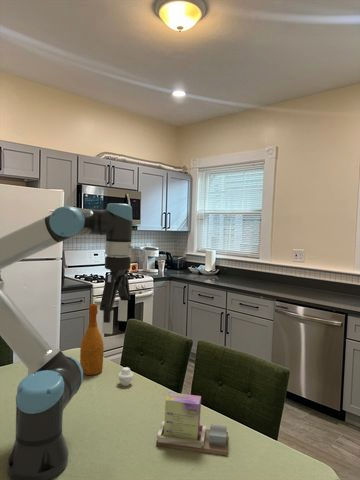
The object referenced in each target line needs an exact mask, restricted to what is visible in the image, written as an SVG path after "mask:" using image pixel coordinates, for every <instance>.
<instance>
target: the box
mask: <svg viewBox="0 0 360 480" xmlns="http://www.w3.org/2000/svg"><path fill="white" fill-rule="evenodd" d="M164 406H165V407H164V420H165V423H164V436H168V437H175V438H183V439H190V440H198V436H199V427H200V424H201V409H202V408H201V407H202V396H201V395H195V394H194V395H193V394H188V393H181V392H180V393H178V392H173V391H172V392H171V391H169V392H168V394H167V397H166V399H165V405H164Z"/></svg>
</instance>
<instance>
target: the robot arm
mask: <svg viewBox="0 0 360 480" xmlns="http://www.w3.org/2000/svg"><path fill="white" fill-rule="evenodd" d="M133 222H134V221H133V207H132V206H131V204H127V203H107V206H106V208H105V209H93V208H91V209H89V208H84V207H83V208H81V207H74V206H71V205H68V206H67V205H65V206H59V207H57V208H56V209H54V210H53V211H52V213H51V214H49V215H48V216H45V217H43V218H41V219H38V220H36V221H33V222H32V223H30V224H28V225H25V226H23V227H21V228H19V229H16V230H14V231H12V232H10V233H8V234H6V235H4V236H1V237H0V273H1V272H2V271H1V270H3V269H5V268H6V267H7V268H8V267H9V266H12V265H13V264H15V263H18V262H20V261H21V260H24V259H26V258H28V257H31V256H33V255H35V254H37V253H39V252H41V251H44V250H46V249H48V248H50V247H53V246H55V245H57V244H59V243H62V242H64V241H67V240H68V239H70V238H72V237H75V236H81V235H82V236H83V235H85V236H86V235H90V236H91V235H95V236H96V235H97V236H105V247H104V249H105V251H104V254H105V255H106V256H105V258H104V269H106V270H109V274H105V279H104V285H103V292H102V295H101V301H100V306H99V311H102V331H101V332H102V334H107V335H112V334H113V332H114V331H113V330H114V327H113V326H114V325H113V324H114V310H113V308H114V303H115V300H116V297H117V293H118V297H119V299H118V308H117V311H118V312H117V321H118V322H127V320H128V303H129V301H130V300H131V299H132V298H131V292H130V291H131V290H130V283H129V270H130V269H131V261H132V258H131V257H130V256H131V254H132V249H133V247H134V246H133V245H132V233H133ZM1 276H2V275H1V274H0V337H1V338H2V339H3V341H4V342H5V343H6V344H7V346H8V347H10V348H9V349H11V350H12V352H14V354H15V355H16V356H17V358H18V359H19V360H20V361H21V362H22V364H23V365H24V366H25V368H27V375H26V376H25V377H24V378H23V379H22V380H21V381H20V382H19V383H18V385H17V389H16V395H15V403H16V404H15V405H16V406H15V440H14V443H13V447H12V448H11V451H10V454H9V457H8V460H7V464H6V465H7V466H6V467H7V468H6V469H7V470H6V472H7V475H8V477H9V479H10V480H52V479H54V478H56V477H57V476H58V475H60V474H61V473H62V472H63V471H64V470H66V467H67V466H68V462H69V450H68V447H67V444H66V440H65V437H64V434H63V420H64V419H63V416H64V415H63V414H64V410H65V409H66V408H67V406H68V405H69V403H70V401H71V400H72V399H73V397H74V396H75V395H76V394H77V393H78V391H79V389H80V388H81V385H82V383H83V380H84V374H83V370H82V367H81V365H80V361H79V360H77V358H74V357H73V356H68V355H65V354H64V353H63V351H62V350H61V349H59V348H58V349H56V348H53V347H51V345H50V344H49V343H48V341H46V339H45V338H44V337H43V335H41V333H40V332H39V331H38V330H37V328H36V326H34V325H33V323H31V321H30V320H29V319H28V318H27V316H26V315H25V314H24V312H22V310H21V309H20V308H19V307H18V305H16V303H15V301H14V300H13V299H12V298H11V296H10V295H9V294H8V293H7V292H6V291H5V289H4V287H5V281H4V280H3V279H2V277H1Z"/></svg>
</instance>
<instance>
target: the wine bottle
mask: <svg viewBox="0 0 360 480" xmlns="http://www.w3.org/2000/svg"><path fill="white" fill-rule="evenodd" d="M88 314H89V322H88V323H89V324H88V326H87V328H86V331H85V333H84V335H83V337H82V340H81V343H80V351H79V353H80V356H79V357H80V358H79V359H80V360H79V363H80V365H81V367H82V370H83V375H86V376H94V375H98V374H100V373H101V372H102V371H103V365H104V352H105V351H104V341H103V337H102V334H101V333H100V330H99V327H98V322H97V321H98V320H97V314H98V304H97V303H90V304H89V312H88Z"/></svg>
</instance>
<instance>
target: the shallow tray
mask: <svg viewBox="0 0 360 480" xmlns="http://www.w3.org/2000/svg"><path fill="white" fill-rule="evenodd" d="M164 423H165V419H164V420H162V422H161V423H160V426H159V429H158V432H157V435H156V437H157V438H156V443H155V447H163V448H169V449H177V450H184V451H191V452H199V453H205V454H212V455H220V456H228V446H229V444H228V443H229V440H228V439H229V433H228V431H227V429H228V428H227V427H228V426H227V425H221V424H214V423H213V424H212V423H211V424H210V426H209V429H207V426H205V424H204V423H200V427H199V436H198V440H190V439H183V438H175V437H168V436H164Z"/></svg>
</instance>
